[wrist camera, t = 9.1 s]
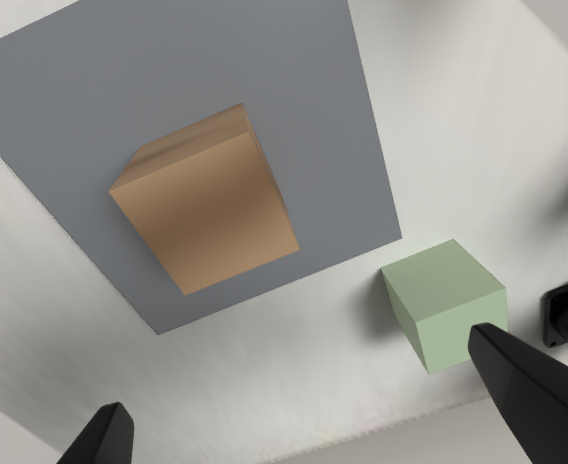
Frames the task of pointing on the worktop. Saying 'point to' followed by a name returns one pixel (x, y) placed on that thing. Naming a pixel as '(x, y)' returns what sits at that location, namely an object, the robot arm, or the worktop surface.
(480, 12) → the worktop surface
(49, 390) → the worktop surface
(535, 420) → the robot arm
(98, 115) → the baseplate
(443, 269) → the sage brick
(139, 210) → the brown wooden cube
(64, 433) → the worktop surface
